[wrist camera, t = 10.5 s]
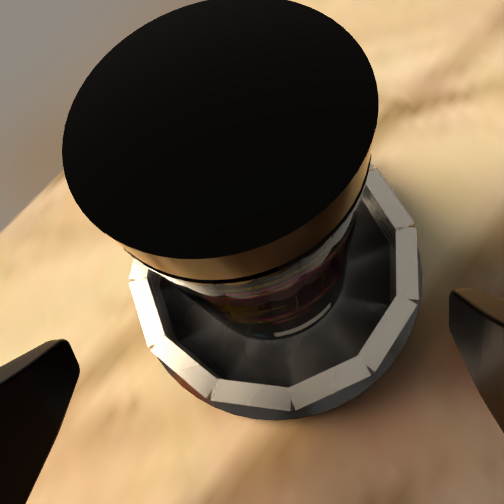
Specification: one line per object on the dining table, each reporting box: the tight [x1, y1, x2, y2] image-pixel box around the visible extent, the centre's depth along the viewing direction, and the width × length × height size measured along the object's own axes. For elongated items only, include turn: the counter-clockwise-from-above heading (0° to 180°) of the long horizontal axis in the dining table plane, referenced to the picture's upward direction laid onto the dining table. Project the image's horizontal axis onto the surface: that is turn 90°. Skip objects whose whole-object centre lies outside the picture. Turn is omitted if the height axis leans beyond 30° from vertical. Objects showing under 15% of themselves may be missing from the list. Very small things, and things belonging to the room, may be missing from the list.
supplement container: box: [62, 0, 378, 340], centre depth 13 cm, size 7×7×10 cm
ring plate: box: [129, 164, 422, 420], centre depth 17 cm, size 13×13×2 cm
